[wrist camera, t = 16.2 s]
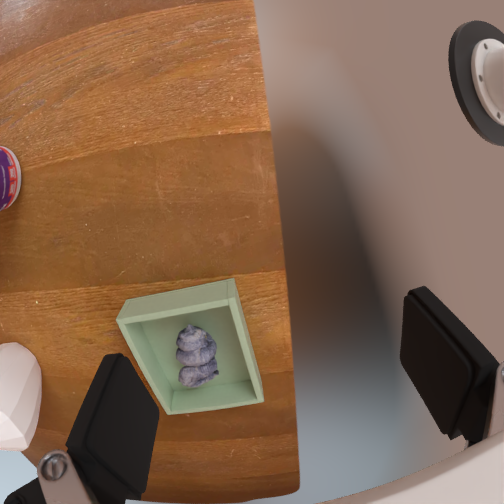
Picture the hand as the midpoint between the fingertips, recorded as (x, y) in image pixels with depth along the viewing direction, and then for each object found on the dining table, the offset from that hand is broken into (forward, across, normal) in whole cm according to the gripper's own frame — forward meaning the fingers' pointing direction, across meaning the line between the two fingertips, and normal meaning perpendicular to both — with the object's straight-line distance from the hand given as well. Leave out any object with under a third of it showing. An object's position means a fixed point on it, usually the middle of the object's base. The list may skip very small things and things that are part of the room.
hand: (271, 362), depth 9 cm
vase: (+24, +42, +16) cm, 51 cm away
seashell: (+24, +10, +17) cm, 31 cm away
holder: (+24, +10, +17) cm, 31 cm away
